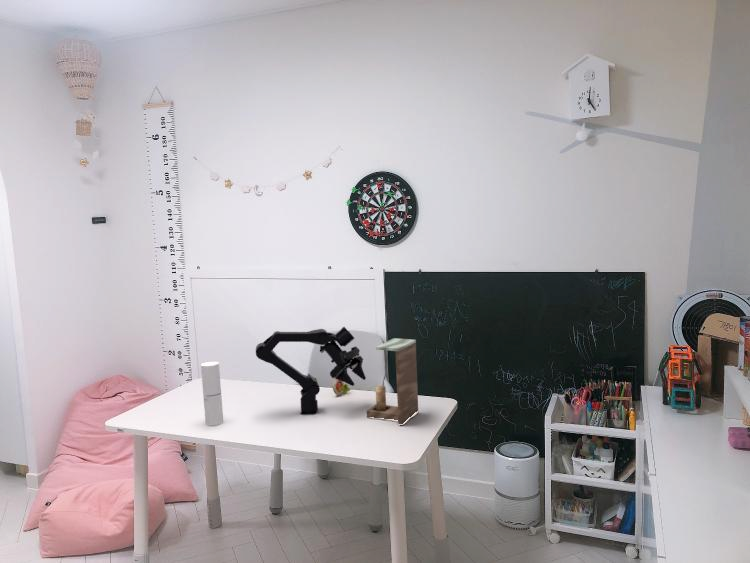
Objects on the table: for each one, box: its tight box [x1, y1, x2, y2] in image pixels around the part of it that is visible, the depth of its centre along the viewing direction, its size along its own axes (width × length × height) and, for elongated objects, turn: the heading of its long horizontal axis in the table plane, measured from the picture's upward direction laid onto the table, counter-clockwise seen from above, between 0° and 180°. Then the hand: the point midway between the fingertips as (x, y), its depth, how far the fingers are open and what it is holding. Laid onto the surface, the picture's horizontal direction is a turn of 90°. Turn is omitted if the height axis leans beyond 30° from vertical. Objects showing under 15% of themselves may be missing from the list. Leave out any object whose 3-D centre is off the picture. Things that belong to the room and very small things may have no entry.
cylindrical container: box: [200, 361, 224, 427], centre depth 247 cm, size 7×7×25 cm
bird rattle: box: [332, 377, 351, 397], centre depth 278 cm, size 6×11×9 cm
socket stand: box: [366, 337, 419, 424], centre depth 245 cm, size 18×16×31 cm
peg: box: [375, 385, 387, 412], centre depth 248 cm, size 4×4×12 cm
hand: (359, 382), depth 251 cm, fingers open, 9 cm apart
